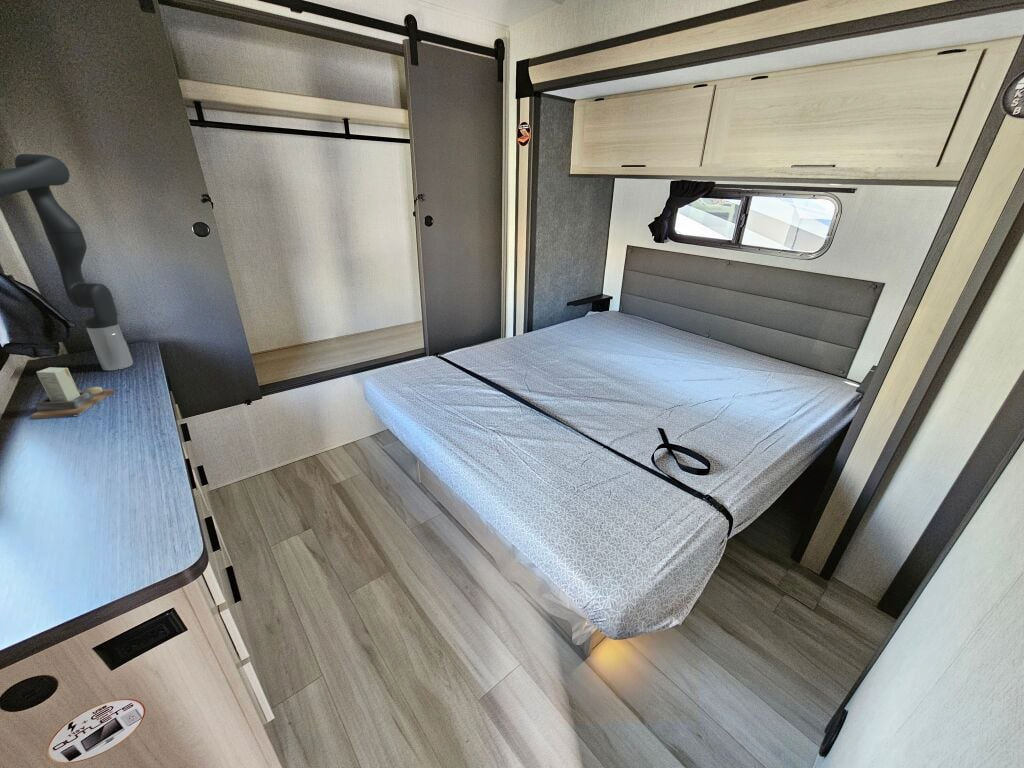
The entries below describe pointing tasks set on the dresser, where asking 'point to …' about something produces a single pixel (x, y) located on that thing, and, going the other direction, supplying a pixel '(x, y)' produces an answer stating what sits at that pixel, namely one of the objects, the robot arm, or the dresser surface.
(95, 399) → the carrier plate
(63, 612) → the dresser surface
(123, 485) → the dresser surface
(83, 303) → the robot arm
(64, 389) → the skincare box
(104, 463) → the dresser surface
